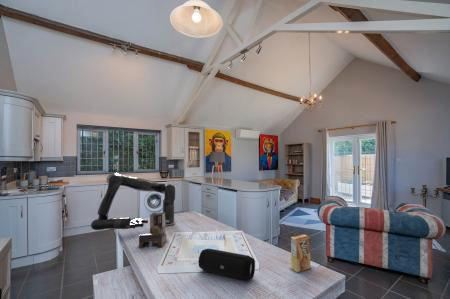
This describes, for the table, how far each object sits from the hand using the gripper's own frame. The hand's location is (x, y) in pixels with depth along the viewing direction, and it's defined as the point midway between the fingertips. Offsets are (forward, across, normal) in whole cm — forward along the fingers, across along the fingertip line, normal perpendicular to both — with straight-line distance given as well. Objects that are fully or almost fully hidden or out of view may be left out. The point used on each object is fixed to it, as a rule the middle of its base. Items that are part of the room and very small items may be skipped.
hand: (145, 223), depth 150 cm
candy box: (+93, -45, +10) cm, 103 cm away
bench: (+10, -13, +10) cm, 19 cm away
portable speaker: (+56, -49, +10) cm, 75 cm away
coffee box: (+9, 0, +10) cm, 13 cm away
